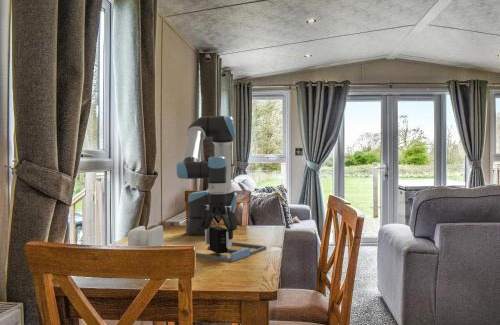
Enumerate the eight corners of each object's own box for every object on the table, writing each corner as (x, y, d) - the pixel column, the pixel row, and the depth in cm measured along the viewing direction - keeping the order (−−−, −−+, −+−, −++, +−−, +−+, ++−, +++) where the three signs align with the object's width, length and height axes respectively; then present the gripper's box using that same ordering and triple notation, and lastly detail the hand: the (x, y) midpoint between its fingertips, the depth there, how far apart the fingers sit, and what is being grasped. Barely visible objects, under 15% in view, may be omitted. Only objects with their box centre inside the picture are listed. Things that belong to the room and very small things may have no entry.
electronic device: (218, 254, 158) (218, 229, 158) (209, 249, 167) (209, 226, 167) (227, 253, 160) (227, 229, 160) (218, 248, 169) (218, 225, 169)
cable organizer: (151, 259, 157) (151, 230, 157) (126, 259, 158) (126, 230, 159) (164, 251, 172) (163, 224, 172) (141, 250, 173) (140, 224, 173)
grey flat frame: (226, 243, 186) (226, 237, 186) (267, 248, 173) (267, 242, 173) (187, 255, 163) (187, 248, 163) (230, 262, 150) (230, 254, 150)
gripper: (191, 193, 167) (191, 244, 167) (234, 194, 154) (235, 250, 154) (202, 191, 173) (203, 241, 173) (245, 193, 160) (246, 246, 160)
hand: (218, 245), depth 163 cm, fingers closed on electronic device, 11 cm apart
